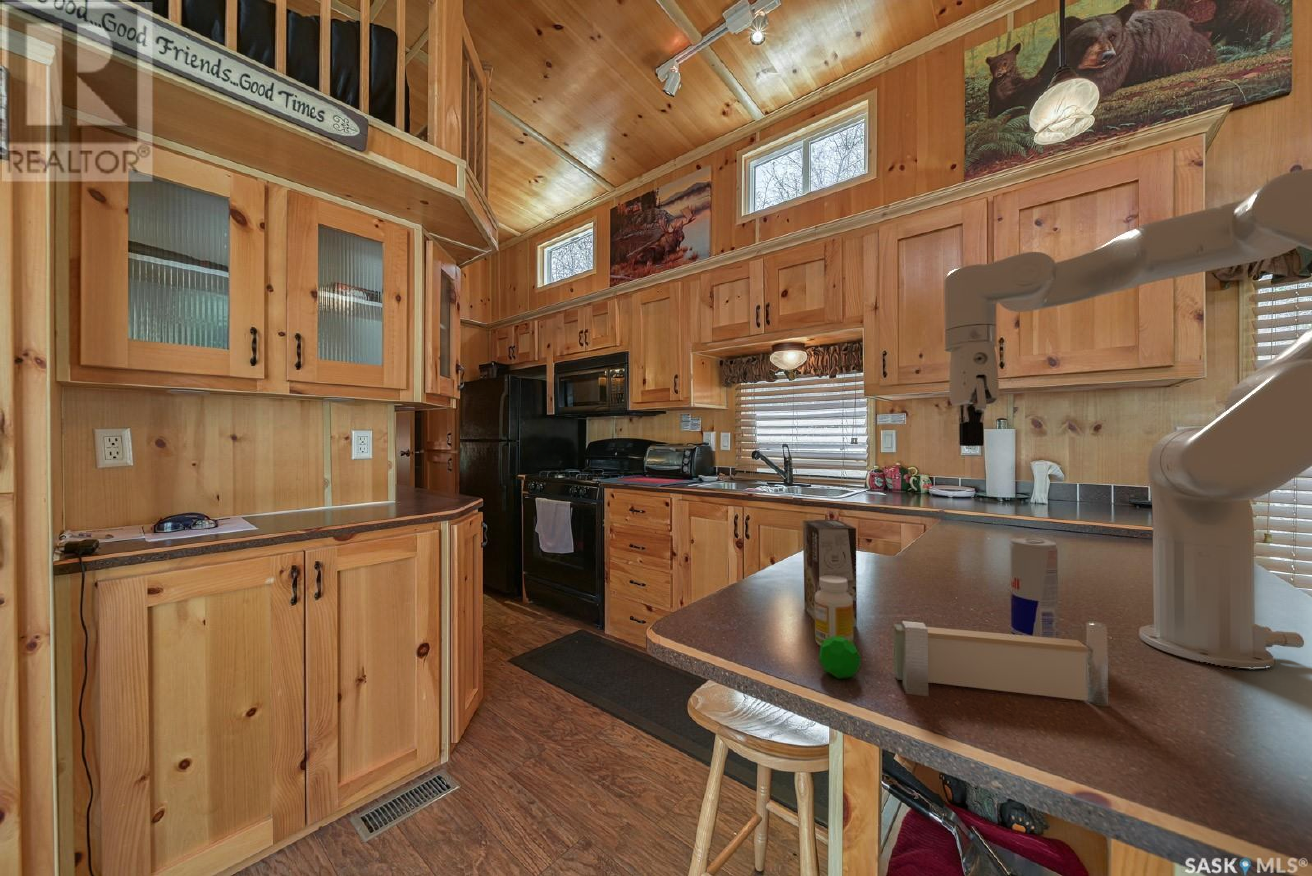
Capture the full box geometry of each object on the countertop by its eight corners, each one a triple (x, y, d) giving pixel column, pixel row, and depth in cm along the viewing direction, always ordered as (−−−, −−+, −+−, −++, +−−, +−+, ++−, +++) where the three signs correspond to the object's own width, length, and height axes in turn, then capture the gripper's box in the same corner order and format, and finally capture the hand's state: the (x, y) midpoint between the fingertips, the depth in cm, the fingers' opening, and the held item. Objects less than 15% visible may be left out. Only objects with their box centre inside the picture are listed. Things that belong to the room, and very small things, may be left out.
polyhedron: (831, 663, 66) (831, 628, 66) (867, 676, 62) (866, 639, 62) (812, 675, 63) (811, 638, 63) (848, 689, 59) (847, 650, 59)
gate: (1077, 692, 57) (1077, 640, 57) (1087, 701, 55) (1087, 647, 55) (894, 671, 63) (893, 624, 63) (897, 679, 61) (896, 630, 61)
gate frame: (1099, 698, 57) (1098, 621, 57) (1115, 709, 54) (1114, 628, 54) (900, 685, 60) (899, 612, 60) (907, 695, 58) (906, 619, 58)
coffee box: (858, 627, 78) (857, 528, 78) (818, 627, 78) (817, 528, 78) (838, 607, 87) (837, 518, 87) (802, 607, 87) (801, 518, 87)
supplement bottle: (854, 639, 74) (853, 575, 74) (852, 654, 69) (851, 586, 69) (817, 634, 76) (816, 572, 76) (812, 647, 71) (812, 581, 71)
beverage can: (1048, 634, 74) (1047, 537, 74) (1065, 650, 69) (1064, 545, 69) (1005, 630, 76) (1004, 535, 76) (1019, 645, 71) (1018, 543, 71)
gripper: (1014, 329, 75) (1015, 446, 75) (979, 346, 90) (980, 445, 90) (959, 332, 77) (960, 447, 78) (934, 348, 92) (935, 445, 92)
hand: (971, 445), depth 84 cm, fingers closed
